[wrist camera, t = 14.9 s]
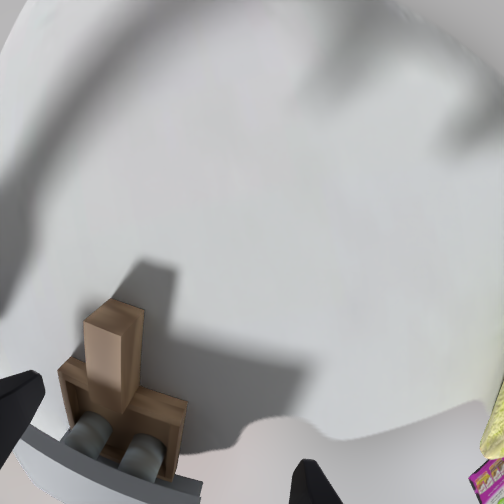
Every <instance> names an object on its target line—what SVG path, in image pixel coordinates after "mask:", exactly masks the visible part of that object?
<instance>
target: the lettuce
mask: <svg viewBox="0 0 504 504" xmlns="http://www.w3.org/2000/svg"><path fill="white" fill-rule="evenodd" d="M480 450H481V452H482V454H483V456H484V457H485V458H487V459H490V460H493V459H498V458H503V457H504V381H503V384H502V387H501V390H500V392H499V395H498V398H497V400H496V403H495V406H494V408H493V411H492V414H491V416H490V419H489V421H488V424H487V426H486V429H485V431H484V434H483V436H482V439H481V441H480Z"/></svg>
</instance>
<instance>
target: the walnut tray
mask: <svg viewBox="0 0 504 504" xmlns="http://www.w3.org/2000/svg"><path fill="white" fill-rule="evenodd" d="M143 321H144V310H143V309H140V308H137V307H134V306H131V305H128V304H126V303H123V302H120V301H117V300H114V299H111V298H110V299H109V300H108V301H106V302H105V303H104V304H103V305H102V306H100V307H99V308H98V309H97V310H96V311H94V312H93V313H92V314H91V315H90V316H89V317H87V318H86V319H85V320H84V321H83V326H84V346H85V359H86V363H84V362H82V361H80V360H78V359H76V358H74V357H72V356H71V357H70V358H69V359H68V360H67V361H66V362H65V363H64V364H63V365H62V366H61V367H60V368H59V369H58V370H57V371H58V376H59V382H60V387H61V392H62V396H63V401H64V405H65V409H66V413H67V417H68V421H69V425H70V428H71V432H70V433H69V434H68V436H67V437H66V439H65V440H64V443H65V445H66V446H68V447H70V448H72V449H74V450H76V451H78V452H80V453H82V454H84V455H86V456H88V457H90V458H92V459H94V460H96V459H97V458H98V456H99V455H101V456H103V457H105V458H107V459H110V460H112V461H114V462H117V463H119V464H120V465H119V467H118V470H119V471H121V472H124V473H126V474H129V475H131V476H134V477H137V478H139V479H142V480H145V481H148V482H151V483H154V482H155V479H156V478H159V479H162V480H165V481H168V482H172V481H173V478H174V475H175V472H176V469H177V464H178V458H179V451H180V445H181V439H182V433H183V427H184V421H185V415H186V409H187V403H188V402H187V401H184V400H181V399H177V398H174V397H171V396H168V395H165V394H162V393H159V392H156V391H153V390H150V389H148V388H145V387H142V386H140V365H141V348H142V333H143Z"/></svg>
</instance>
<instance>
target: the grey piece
mask: <svg viewBox="0 0 504 504" xmlns="http://www.w3.org/2000/svg"><path fill="white" fill-rule="evenodd" d="M69 433H70V431H67V432H66V433H65V435H64V436H63V437H62V439H61V440H60V442H59V441H57V440H56V439H54V438H52V437H51V436H49V435H47V434H46V433H44V432H42V431H41V430H39V429H37V428H36V427H34V426H33V425H31V424H29V426H28V427H27V429H26V431H25V432H24V434H23V435H22V437H21V438H20V440H19V441H18V443H17V444H16V446H15V447H14V449H13V450H12V451H13V453H14V455H15V456H16V458H17V459H18V461H19V463H20V464H21V466H22V468H23V469H24V471H25V472H26V474H27V475H28V477H29V478H30V480H31V481H32V483H33V484H34V485H35V486H36V487H38V488H39V489H41V490H42V491H44V492H46V493H47V494H49V495H51V496H52V497H54V498H56V499H57V500H59V501H61V502H63V503H64V504H200V500H201V497H200V493H201V489H202V485H203V482H202V481H198V480H194V479H190V478H187V477H183V476H180V475H176V474H175V475H174V478H173V481H172V482H168V481H165V480H162V479H159V478H156V479H155V482H154V483H151V482H148V481H145V480H142V479H139V478H137V477H134V476H131V475H129V474H126V473H124V472H121V471H119V470H118V467H119V465H120V464H119V463H117V462H114V461H112V460H110V459H107V458H105V457H103V456H101V455H99V456H98V458H97V459H96V460H94V459H92V458H90V457H88V456H86V455H84V454H82V453H80V452H78V451H76V450H74V449H72V448H70V447H68V446H66V445H65V443H64V440H65V439H66V437H67V436H68V434H69Z"/></svg>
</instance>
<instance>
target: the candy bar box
mask: <svg viewBox="0 0 504 504" xmlns="http://www.w3.org/2000/svg"><path fill="white" fill-rule="evenodd" d="M468 479H469V481H470V483H471V485H472V487H473V490H474V492H475V494H476V496H477V498H478V500H479V503H480V504H504V457H503V458H498V459H493V460H490V459H488V460H487V461H486V462H485V463H484V464H483V465H482V466H481V467H480V468H479V469H477V470H476V471H475V472H474V473H473V474H472V475H471V476H470V477H469V478H468Z"/></svg>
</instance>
